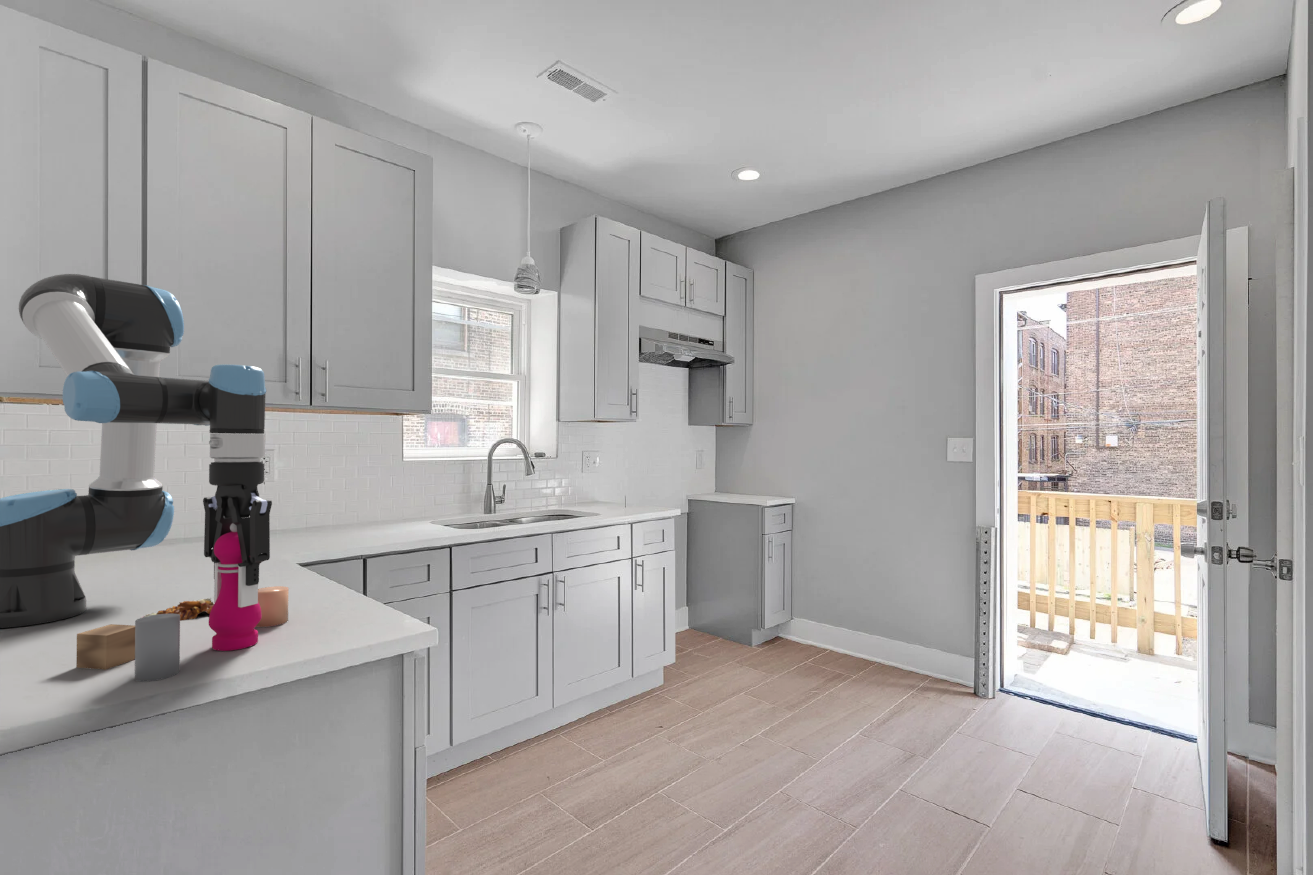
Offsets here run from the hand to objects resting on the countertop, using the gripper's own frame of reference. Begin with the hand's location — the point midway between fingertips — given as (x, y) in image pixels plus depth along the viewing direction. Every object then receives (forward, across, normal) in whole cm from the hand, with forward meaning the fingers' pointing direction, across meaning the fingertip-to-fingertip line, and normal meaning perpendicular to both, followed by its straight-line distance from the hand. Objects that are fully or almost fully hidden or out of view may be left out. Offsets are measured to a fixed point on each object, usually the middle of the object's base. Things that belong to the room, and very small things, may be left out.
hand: (235, 602), depth 103 cm
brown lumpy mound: (+7, -26, +6) cm, 28 cm away
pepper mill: (+7, 0, 0) cm, 7 cm away
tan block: (+7, -9, -13) cm, 17 cm away
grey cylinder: (+7, +3, -13) cm, 15 cm away
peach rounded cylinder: (+7, -7, +11) cm, 15 cm away
